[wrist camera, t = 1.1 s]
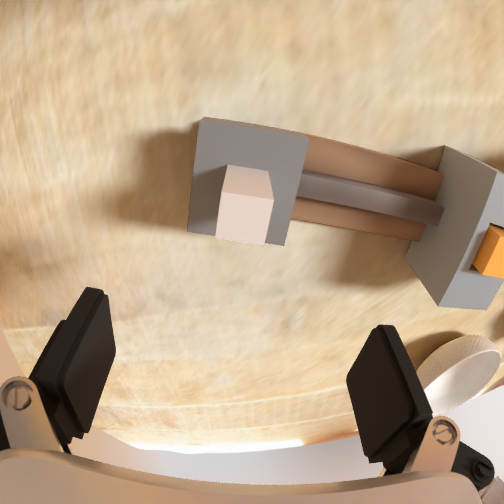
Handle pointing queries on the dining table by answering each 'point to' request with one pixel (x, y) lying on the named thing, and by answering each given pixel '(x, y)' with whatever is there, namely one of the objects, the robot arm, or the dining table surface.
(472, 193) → the grey button housing
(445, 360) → the cereal bowl
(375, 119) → the dining table surface
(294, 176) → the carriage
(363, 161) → the rail track
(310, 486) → the robot arm
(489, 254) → the button
